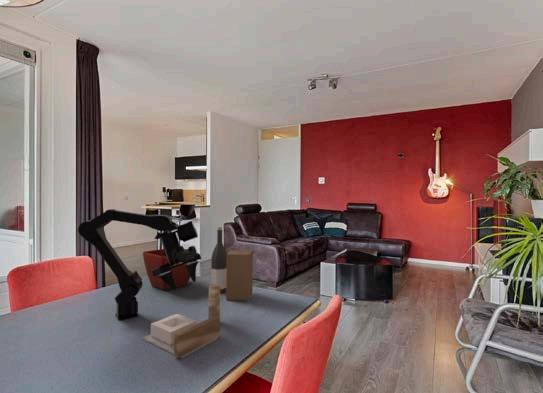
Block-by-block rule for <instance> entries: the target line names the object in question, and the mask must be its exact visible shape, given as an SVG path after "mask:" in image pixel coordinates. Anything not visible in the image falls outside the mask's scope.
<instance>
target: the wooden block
mask: <svg viewBox="0 0 543 393" xmlns="http://www.w3.org/2000/svg"><path fill="white" fill-rule="evenodd" d="M253 263H254V250H247V249H245V250H243V249H232V250H230V251H229V252H227V266H226V291H225V300H226V301H235V302H236V301H238V302H239V301H240V302H249V301H250V299H251V297H252V295H253V284H254V283H253V282H254V280H253V277H254V276H253V275H254V274H253V272H254V269H253V266H254V264H253Z"/></svg>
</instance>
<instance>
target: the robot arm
mask: <svg viewBox="0 0 543 393" xmlns="http://www.w3.org/2000/svg"><path fill="white" fill-rule="evenodd" d="M113 221H115V222H120V223H127V224H133V225H134V224H135V225H140V226H146V227H148V228H151V229H153V230H155V231H158V232H156V235H155V237H154V240H161V244H162V245H163V246H162V247H163V249H164V250H165V252H164V255H166V256H167V259H168V263H167V264H165V265H162V266H159V267H157V268H154V269H153V272H152V273H153V276H154V277H155V276H158V275H159V276H158V277H157V278H161V279H162V280H163V281H164V282H166V283H167V284H168V285H169V286H170V287H171V288H172V289H171V290H172V291H174V292H175V291H177V288H176V286H175V283H174V280H173V277H172V273H173V271H171V272H170V269H173V268H175V267H178V266H181V265H183V264H187V266H186V269H187V271H188V273H189V275H190V279H191V282H193V283H196V281H197V266H198V264H199V263H200V260H202V256H201V254H200V253H199V252H198V251H197V249H196V246H194V245H190V246H188V247H187V249H186V248H184V246H183V245H180V241H181V242H184V243H185V242H188V241H191V240H193V239H196V238H199V237H198V236H199V235H198V231H197V229H196V227H195V225H194V222H193V221H192V220H189V221H187V222H185V223H182V224H178V223H176V222H174V220H172V218H171V217H170V215H167V214H143V213H136V212H130V211H123V210H118V209H114V208H112V209H111V208H110V209H107V210H105V211H104V212H102V213H101V214H100V215H97V216H95V217H94V218H92V219H90V220H85V221H83V222H81V223H80V224H79V226H78V228H77V233H78V234H79V236H81V237H82V238H83V240H85V241H86V242H88V243H90V244H91V245H92V246H94V248H95V249H96V250H97V252H98V253H99V255H100V256H101V257H102V259H103V261H104V262H105V263H106V264H107V266H108V268H110V270H111V271H112V273H113V275H115V276H116V278H117V279H116V280H117V283H118V286H119V289H120V292H119V293H117V295H116V296H115V297H114V300H115V303H116V312H115V316H116V317H115V318H117V320H118V321H122V320H127V319H130V318H136V317H138V313H139V302H138V301H137V300H138V298H137V297H136V296H137V295H138V294H139V292H140V291H141V289H142V288H143V281H142V280H143V278H142V277H141V276H140V275H139V273H138V271H137V270H135V271H134V272H132V271H131V270H130V269H128V267H127V265H126V264H125V263H124V262H123V260H122V259H121V258H120V256H119V254H118V253H117V251H116V250H115V249H114V247H113V246H112V244H111V243H110V242H109V240H108V239H107V236H106V232H105V228H104V227H105V226H107V225H108V224H110V223H111V222H113ZM170 231H171V232H170ZM185 249H186V250H185ZM179 262H181V263H179ZM175 263H176V264H175ZM174 264H175V265H174Z"/></svg>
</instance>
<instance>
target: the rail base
mask: <svg viewBox="0 0 543 393" xmlns="http://www.w3.org/2000/svg"><path fill="white" fill-rule="evenodd" d="M220 336H221V316H220V317H219V316H214V317H211V318H209V319H205V320H203V321H200V322H199V323H198V322H197V324H196V325H194V326H191V327H189V328H187V329H185V330H183V331H180V332H178V333H176V334H174V344H172V345H170V344H167V343H165V342H163V341H161V340H159V339H157V338H155V337H152V336H151V333H150V334H148V335H145V336H144V337H142V340H143V341H145V342H147V343H149V344H151V345H153V346H156V347H158V348H160V349H161V350H163V351H165V352H168V353H170V354H171V355H173V356H175V357H176V358H178V359H183V358H186V357H187V356H188V355H191V354H192V353H195V352H196V351H199V349H202V348H203V347H205V346H208V345H209V344H211V343H213V342H215V341H217V340H218V338H219V337H220Z"/></svg>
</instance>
